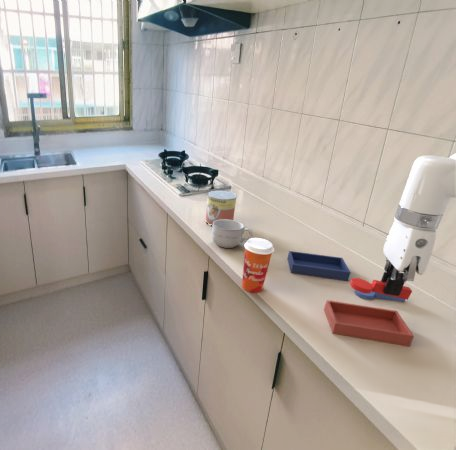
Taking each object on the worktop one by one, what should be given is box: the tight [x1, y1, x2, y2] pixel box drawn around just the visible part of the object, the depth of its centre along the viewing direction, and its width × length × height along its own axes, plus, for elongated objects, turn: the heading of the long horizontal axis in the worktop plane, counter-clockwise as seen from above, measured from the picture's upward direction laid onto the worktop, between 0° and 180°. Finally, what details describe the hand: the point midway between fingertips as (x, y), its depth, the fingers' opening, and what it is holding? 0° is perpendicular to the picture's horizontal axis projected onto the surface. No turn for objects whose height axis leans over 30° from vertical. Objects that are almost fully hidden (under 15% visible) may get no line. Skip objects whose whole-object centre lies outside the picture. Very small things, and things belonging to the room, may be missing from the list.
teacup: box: [211, 219, 254, 249], centre depth 118 cm, size 14×11×8 cm
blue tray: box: [287, 250, 352, 282], centre depth 106 cm, size 16×9×3 cm, turn 77°
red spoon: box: [349, 277, 413, 300], centre depth 77 cm, size 12×5×2 cm, turn 77°
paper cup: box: [241, 237, 275, 294], centre depth 93 cm, size 8×8×14 cm
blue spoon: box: [354, 289, 407, 303], centre depth 93 cm, size 12×5×2 cm, turn 77°
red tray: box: [323, 299, 415, 347], centre depth 81 cm, size 16×9×3 cm, turn 77°
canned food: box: [205, 189, 238, 225], centre depth 136 cm, size 11×11×12 cm
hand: (388, 290), depth 77 cm, fingers closed on red spoon, 1 cm apart
